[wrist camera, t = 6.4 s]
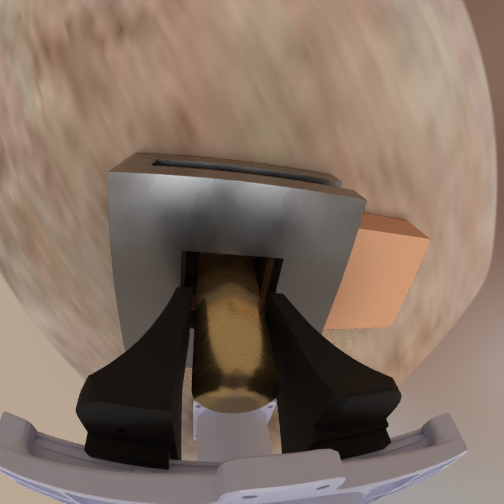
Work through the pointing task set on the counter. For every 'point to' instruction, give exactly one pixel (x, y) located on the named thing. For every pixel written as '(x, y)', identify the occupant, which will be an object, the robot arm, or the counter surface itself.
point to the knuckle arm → (370, 274)
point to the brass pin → (231, 338)
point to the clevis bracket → (225, 231)
